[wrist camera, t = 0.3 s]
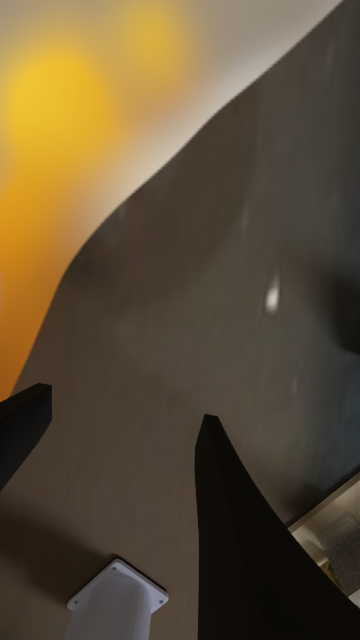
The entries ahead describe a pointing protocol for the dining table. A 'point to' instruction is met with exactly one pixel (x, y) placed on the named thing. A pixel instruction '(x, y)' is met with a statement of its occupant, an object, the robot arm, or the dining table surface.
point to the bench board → (326, 517)
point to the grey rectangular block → (344, 553)
